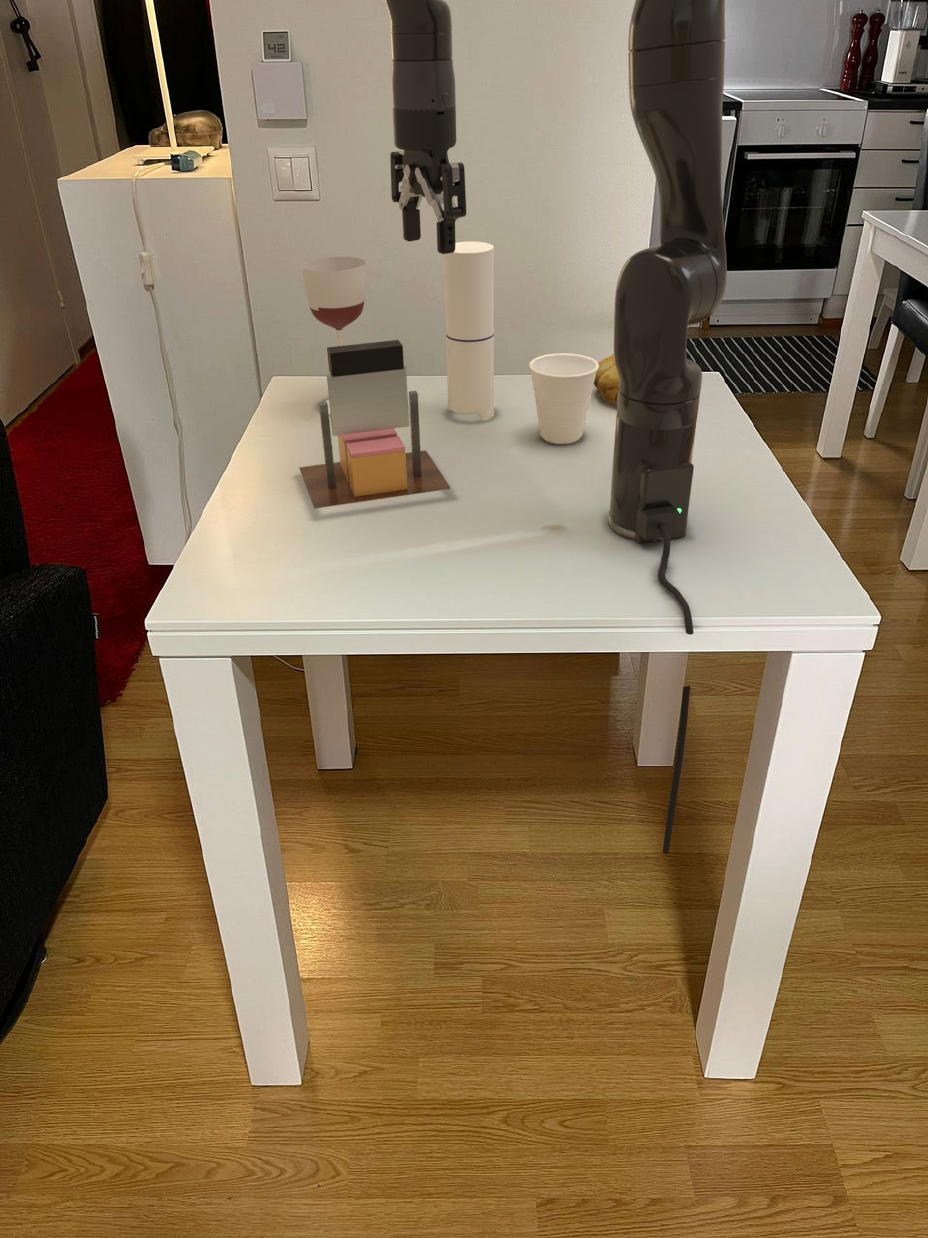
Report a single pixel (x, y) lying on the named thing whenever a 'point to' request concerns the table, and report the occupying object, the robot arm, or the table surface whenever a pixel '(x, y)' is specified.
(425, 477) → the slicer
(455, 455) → the table surface
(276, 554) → the table surface
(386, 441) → the cake
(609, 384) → the bread roll
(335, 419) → the black handled scraper
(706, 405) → the table surface
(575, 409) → the cup
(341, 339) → the wineglass
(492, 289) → the cylindrical container
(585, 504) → the table surface
